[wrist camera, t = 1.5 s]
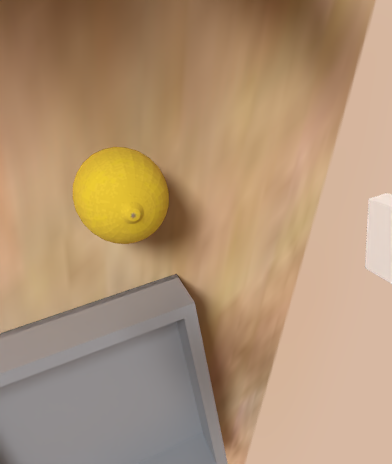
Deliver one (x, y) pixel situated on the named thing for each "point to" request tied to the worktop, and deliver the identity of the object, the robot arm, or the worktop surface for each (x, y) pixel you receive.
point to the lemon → (120, 195)
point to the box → (111, 384)
